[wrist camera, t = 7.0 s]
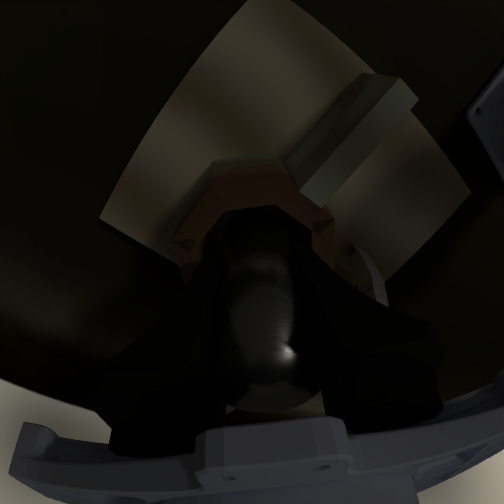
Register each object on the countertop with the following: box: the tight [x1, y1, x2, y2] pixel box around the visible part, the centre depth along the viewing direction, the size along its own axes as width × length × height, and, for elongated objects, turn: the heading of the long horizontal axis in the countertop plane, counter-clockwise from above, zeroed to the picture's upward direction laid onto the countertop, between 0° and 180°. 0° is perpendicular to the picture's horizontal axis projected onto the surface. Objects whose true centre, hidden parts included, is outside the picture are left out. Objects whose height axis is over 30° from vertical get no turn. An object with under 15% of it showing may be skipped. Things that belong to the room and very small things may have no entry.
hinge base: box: [99, 0, 471, 288], centre depth 15 cm, size 15×17×5 cm
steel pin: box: [215, 209, 325, 413], centre depth 12 cm, size 3×3×8 cm
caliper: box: [226, 245, 389, 414], centre depth 21 cm, size 20×1×6 cm, turn 151°
